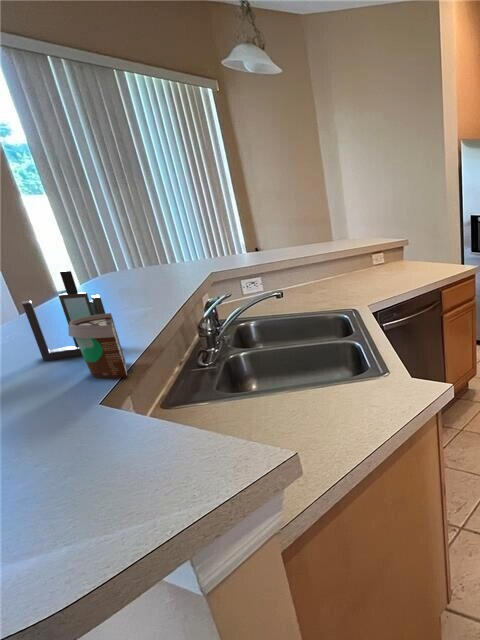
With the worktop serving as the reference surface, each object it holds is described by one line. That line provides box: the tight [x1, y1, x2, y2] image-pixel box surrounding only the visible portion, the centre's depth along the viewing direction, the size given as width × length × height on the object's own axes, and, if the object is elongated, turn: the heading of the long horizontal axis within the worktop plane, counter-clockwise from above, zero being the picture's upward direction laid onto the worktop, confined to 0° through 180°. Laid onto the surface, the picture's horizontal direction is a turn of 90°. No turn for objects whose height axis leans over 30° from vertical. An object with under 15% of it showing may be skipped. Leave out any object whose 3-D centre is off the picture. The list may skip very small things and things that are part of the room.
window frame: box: [21, 294, 106, 362], centre depth 90 cm, size 11×3×12 cm, turn 136°
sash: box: [57, 269, 94, 348], centre depth 90 cm, size 4×1×15 cm, turn 136°
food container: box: [67, 313, 128, 380], centre depth 81 cm, size 12×6×10 cm, turn 40°
